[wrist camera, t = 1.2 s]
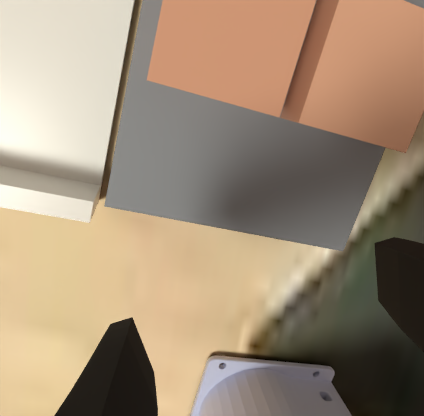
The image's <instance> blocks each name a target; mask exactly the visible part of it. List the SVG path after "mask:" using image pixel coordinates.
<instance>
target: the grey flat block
mask: <svg viewBox="0 0 424 416" xmlns="http://www.w3.org/2000/svg"><path fill="white" fill-rule="evenodd" d="M162 1H163V0H143V1H142V7H141V12H140V18H139V23H138V28H137V34H136V39H135V45H134V50H133V55H132V61H131V66H130V71H129V77H128V82H127V88H126V93H125V98H124V104H123V109H122V114H121V120H120V125H119V131H118V136H117V141H116V147H115V152H114V158H113V163H112V168H111V174H110V179H109V184H108V190H107V195H106V201H105V207H111V208H116V209H121V210H127V211H132V212H137V213H143V214H148V215H153V216H158V217H164V218H169V219H174V220H180V221H185V222H190V223H196V224H201V225H206V226H212V227H217V228H222V229H228V230H233V231H238V232H244V233H249V234H254V235H260V236H265V237H270V238H276V239H281V240H286V241H291V242H297V243H302V244H307V245H313V246H318V247H323V248H329V249H334V250H339V251H343V250H344V247H345V245H346V243H347V240H348V238H349V235H350V233H351V230H352V228H353V225H354V223H355V221H356V218H357V216H358V213H359V211H360V208H361V206H362V204H363V201H364V199H365V196H366V194H367V191H368V189H369V186H370V184H371V182H372V179H373V177H374V174H375V172H376V169H377V167H378V165H379V162H380V160H381V157H382V155H383V152H384V150H385V148H386V147H382V146H378V145H375V144H371V143H368V142H364V141H360V140H357V139H353V138H350V137H346V136H343V135H339V134H336V133H332V132H328V131H325V130H321V129H318V128H314V127H311V126H307V125H304V124H300V123H296V122H293V121H289V120H286V119H282V118H279V117H276V116H272V115H268V114H265V113H261V112H257V111H254V110H250V109H247V108H243V107H240V106H236V105H232V104H229V103H225V102H222V101H218V100H215V99H211V98H208V97H204V96H200V95H197V94H193V93H190V92H186V91H183V90H179V89H176V88H172V87H168V86H165V85H161V84H158V83H154V82H151V81H147V76H148V71H149V66H150V61H151V56H152V51H153V46H154V41H155V36H156V31H157V26H158V21H159V16H160V11H161V6H162ZM404 1H407V2H409V3H411V4H414V5H416V6H419V7H421V8H424V0H404ZM316 2H317V0H316ZM315 6H316V3H315ZM315 6H314V9H315ZM314 9H313V12H314ZM312 15H313V13H312ZM311 18H312V16H311ZM310 21H311V19H310ZM309 25H310V22H309ZM309 25H308V28H309ZM307 31H308V29H307ZM306 34H307V32H306ZM305 37H306V35H305ZM304 40H305V38H304ZM303 44H304V41H303ZM303 44H302V47H303ZM301 50H302V48H301ZM300 53H301V51H300ZM299 56H300V54H299ZM298 59H299V57H298ZM297 63H298V60H297ZM297 63H296V66H297ZM295 69H296V67H295ZM294 72H295V70H294ZM293 75H294V73H293ZM292 78H293V76H292ZM291 82H292V79H291ZM290 85H291V83H290ZM289 88H290V86H289ZM288 91H289V89H288ZM287 94H288V92H287ZM286 98H287V95H286ZM286 98H285V101H286ZM284 104H285V102H284ZM283 107H284V105H283ZM282 110H283V108H282ZM281 113H282V111H281ZM280 117H281V114H280Z"/></svg>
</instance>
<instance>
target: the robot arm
mask: <svg viewBox="0 0 424 416" xmlns="http://www.w3.org/2000/svg"><path fill="white" fill-rule="evenodd" d="M375 256H376V271H377V286H378V300H379V302H380V303H381V304H382V306H383V307H384V308H385V310H386V311H387V312H388V314H389V315H390V316H391V317H392V319H393V320H394V321H395V322H396V324H397V325H398V326H399V327H400V329H401V330H402V331H403V332H404V333H405V334H406V335H407V336H408V337H409V338H410V339H411V340H412V341H413V342H414V343H415V344H416V345H417V346H418V347H419V348H420V349H421V350H422V351H423V352H424V244H422V243H418V242H414V241H410V240H405V239H400V238H395V237H394V238H390V239H387V240H384V241H380V242H377V243H375ZM221 363H224V364H222V365H219V364H221ZM334 374H335V372H334V370H333V369H332V367H330V366H323V365H313V364H302V363H291V362H281V361H270V360H259V359H249V358H238V357H228V356H217V355H215V356H211V357H210V358H209V359H208V360H207V363H206V366H205V369H204V372H203V375H202V379H201V382H200V385H199V388H198V391H197V394H196V397H195V401H194V404H193V407H192V410H191V413H190V416H352V415H351V414H350V412H349V410H348V409H347V407H346V405H345V404H344V402H343V401H342V399H341V397H340V396H339V394H338V392H337V391H336V389H335V387H334V386H333V384H332V383H331V381H332V379H333V377H334ZM55 416H158V407H157V396H156V386H155V377H154V371H153V368H152V366H151V363H150V361H149V358H148V356H147V353H146V351H145V348H144V346H143V343H142V341H141V338H140V336H139V333H138V331H137V328H136V325H135V323H134V320H133V318H129V319H125V320H122V321H119V322H115V323H112V324H110V326H109V328H108V329H107V331H106V332H105V334H104V336H103V338H102V339H101V341H100V343H99V344H98V346H97V348H96V350H95V351H94V353H93V355H92V357H91V358H90V360H89V362H88V364H87V365H86V367H85V369H84V370H83V372H82V373H81V375H80V377H79V378H78V380H77V382H76V383H75V385H74V387H73V388H72V390H71V392H70V393H69V395H68V396H67V398H66V399H65V401H64V402H63V404H62V405H61V407H60V408H59V410H58V411H57V413H56V414H55Z"/></svg>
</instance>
